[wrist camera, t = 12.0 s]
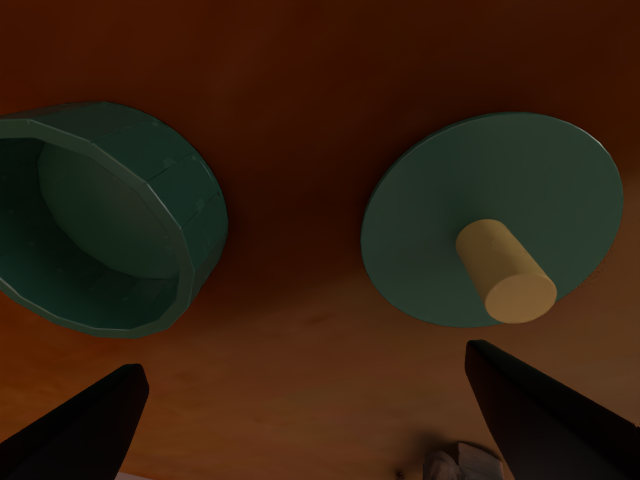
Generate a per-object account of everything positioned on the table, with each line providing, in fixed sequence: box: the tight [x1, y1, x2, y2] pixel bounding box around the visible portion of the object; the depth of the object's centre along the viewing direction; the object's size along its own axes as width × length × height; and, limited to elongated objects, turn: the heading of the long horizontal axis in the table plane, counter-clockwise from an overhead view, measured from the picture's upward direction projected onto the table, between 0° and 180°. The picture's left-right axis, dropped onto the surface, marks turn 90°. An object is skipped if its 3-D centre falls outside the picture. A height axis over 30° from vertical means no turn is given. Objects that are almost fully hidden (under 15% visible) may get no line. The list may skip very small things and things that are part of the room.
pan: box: [0, 101, 228, 339], centre depth 17 cm, size 11×11×5 cm
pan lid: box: [360, 112, 623, 327], centre depth 15 cm, size 12×12×6 cm
